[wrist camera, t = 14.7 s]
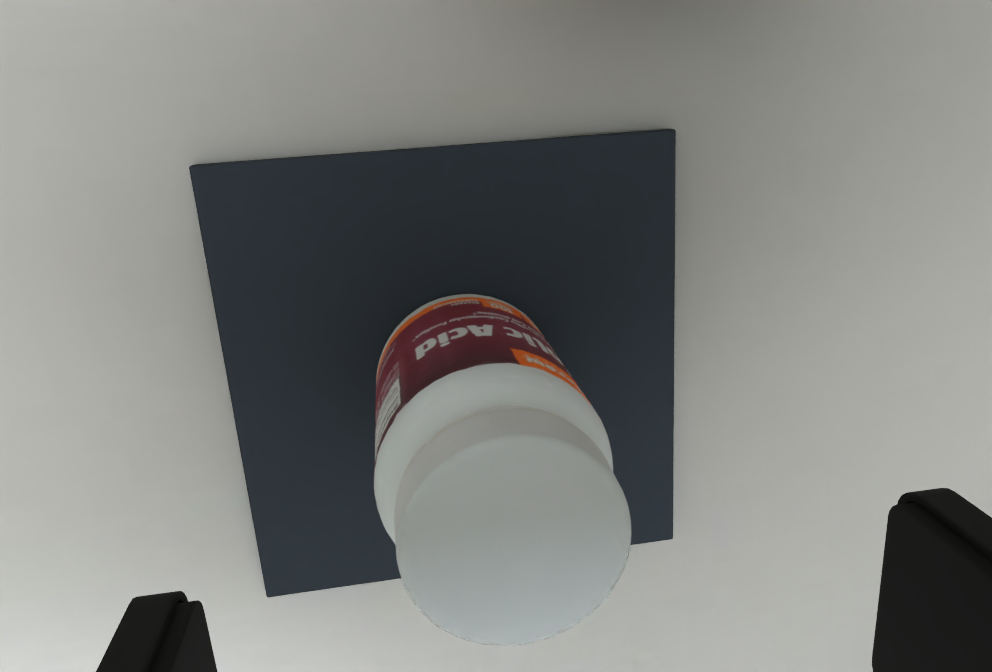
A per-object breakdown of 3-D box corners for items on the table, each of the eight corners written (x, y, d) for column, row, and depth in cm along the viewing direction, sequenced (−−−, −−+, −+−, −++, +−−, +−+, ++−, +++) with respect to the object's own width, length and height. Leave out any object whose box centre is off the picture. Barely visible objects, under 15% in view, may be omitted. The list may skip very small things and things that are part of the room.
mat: (192, 164, 18) (188, 166, 18) (670, 128, 20) (675, 129, 20) (268, 589, 22) (266, 598, 22) (668, 532, 24) (673, 539, 23)
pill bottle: (563, 299, 20) (682, 426, 13) (534, 462, 22) (626, 670, 14) (384, 279, 20) (391, 401, 12) (364, 449, 21) (358, 664, 13)
